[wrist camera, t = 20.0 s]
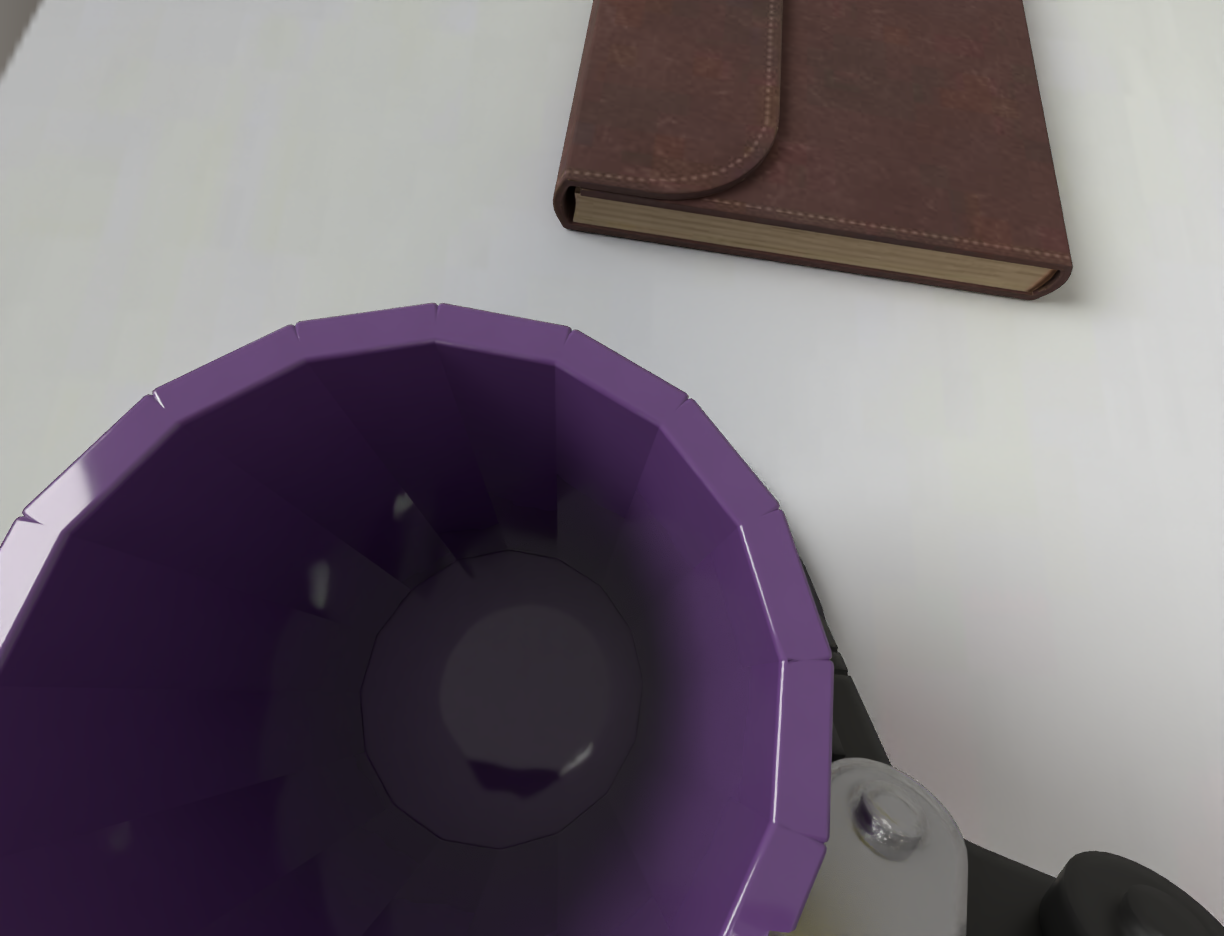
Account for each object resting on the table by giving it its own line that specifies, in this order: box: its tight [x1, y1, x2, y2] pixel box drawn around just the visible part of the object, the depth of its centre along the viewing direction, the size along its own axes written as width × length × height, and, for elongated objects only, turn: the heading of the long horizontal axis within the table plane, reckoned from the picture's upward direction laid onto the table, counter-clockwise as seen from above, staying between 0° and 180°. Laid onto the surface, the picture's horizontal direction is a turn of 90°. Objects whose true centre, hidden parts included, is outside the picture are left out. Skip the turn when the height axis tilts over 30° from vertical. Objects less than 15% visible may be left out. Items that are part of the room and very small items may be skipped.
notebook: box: [553, 0, 1073, 300], centre depth 21 cm, size 15×20×2 cm
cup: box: [0, 303, 834, 936], centre depth 9 cm, size 6×6×9 cm
